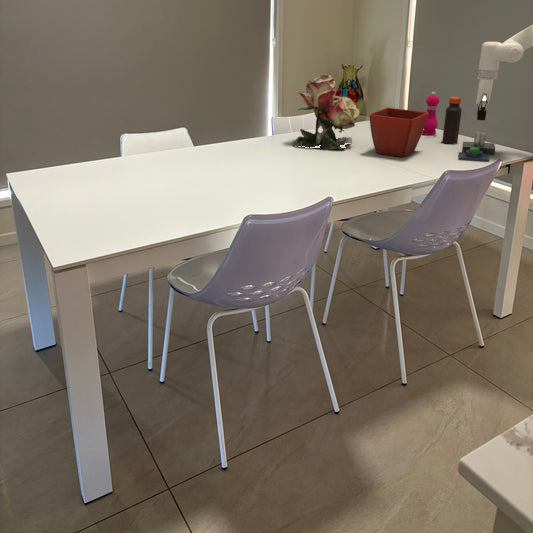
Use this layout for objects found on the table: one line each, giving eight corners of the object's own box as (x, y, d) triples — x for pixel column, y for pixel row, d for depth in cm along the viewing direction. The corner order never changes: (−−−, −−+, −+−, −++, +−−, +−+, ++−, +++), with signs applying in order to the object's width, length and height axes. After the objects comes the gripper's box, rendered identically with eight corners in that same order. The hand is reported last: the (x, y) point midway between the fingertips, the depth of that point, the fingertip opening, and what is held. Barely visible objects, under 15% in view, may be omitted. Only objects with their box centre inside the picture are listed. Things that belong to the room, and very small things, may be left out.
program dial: (473, 143, 255) (475, 131, 253) (484, 143, 254) (486, 131, 252) (473, 145, 252) (475, 133, 249) (484, 146, 250) (486, 133, 248)
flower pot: (424, 151, 256) (429, 111, 249) (408, 160, 242) (412, 119, 235) (384, 145, 266) (387, 107, 258) (365, 154, 251) (368, 114, 244)
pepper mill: (430, 136, 280) (435, 93, 272) (418, 133, 286) (422, 91, 277) (439, 134, 285) (444, 91, 276) (427, 131, 290) (432, 89, 281)
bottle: (460, 142, 270) (466, 97, 261) (452, 145, 265) (458, 99, 257) (446, 140, 274) (452, 96, 265) (439, 142, 269) (444, 97, 261)
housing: (488, 156, 247) (489, 149, 245) (489, 162, 239) (490, 155, 238) (458, 154, 250) (459, 147, 249) (458, 160, 242) (459, 153, 241)
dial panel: (493, 150, 257) (494, 142, 255) (494, 155, 248) (495, 148, 247) (462, 148, 260) (463, 140, 259) (462, 153, 252) (463, 146, 250)
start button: (478, 151, 244) (479, 147, 244) (478, 153, 241) (479, 149, 240) (469, 150, 245) (470, 146, 245) (469, 153, 242) (470, 148, 241)
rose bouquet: (355, 151, 255) (359, 80, 242) (289, 147, 262) (290, 77, 249) (362, 138, 278) (366, 72, 265) (301, 135, 285) (302, 70, 272)
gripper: (477, 71, 244) (471, 113, 252) (477, 77, 229) (471, 121, 237) (496, 72, 242) (490, 114, 250) (498, 78, 227) (490, 122, 235)
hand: (480, 117), depth 243 cm, fingers open, 9 cm apart
